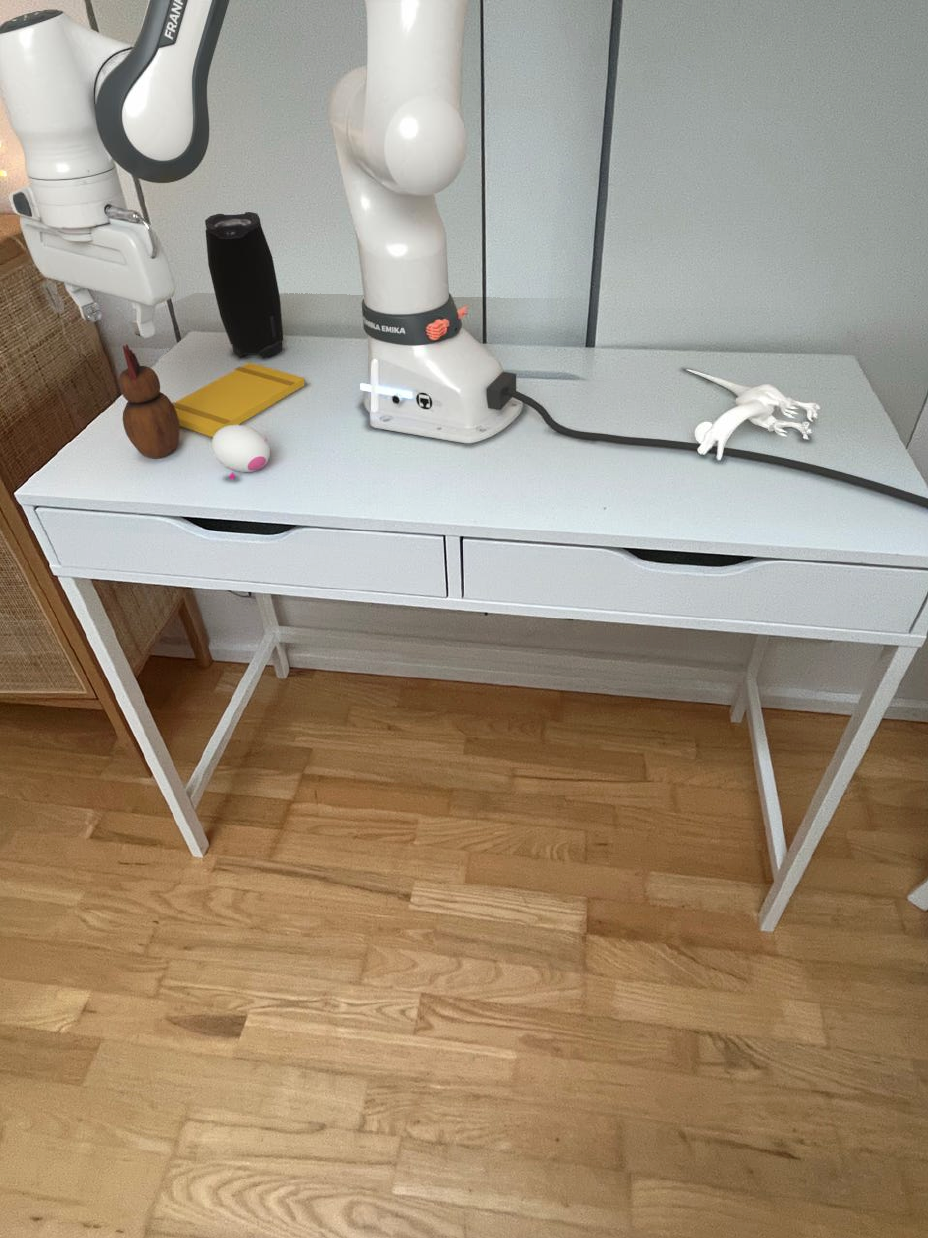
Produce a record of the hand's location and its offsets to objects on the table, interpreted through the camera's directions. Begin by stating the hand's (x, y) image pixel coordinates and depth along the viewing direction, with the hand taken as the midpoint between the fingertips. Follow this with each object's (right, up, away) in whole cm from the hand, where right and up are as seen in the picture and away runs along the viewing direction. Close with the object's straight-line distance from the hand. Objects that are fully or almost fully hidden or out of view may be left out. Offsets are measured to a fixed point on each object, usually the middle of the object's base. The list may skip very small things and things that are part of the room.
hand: (119, 327), depth 98 cm
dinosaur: (+75, -8, +12) cm, 76 cm away
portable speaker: (+8, +8, +34) cm, 36 cm away
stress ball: (+13, -15, +7) cm, 22 cm away
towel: (+8, -3, +21) cm, 23 cm away
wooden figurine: (+1, -13, +11) cm, 17 cm away
